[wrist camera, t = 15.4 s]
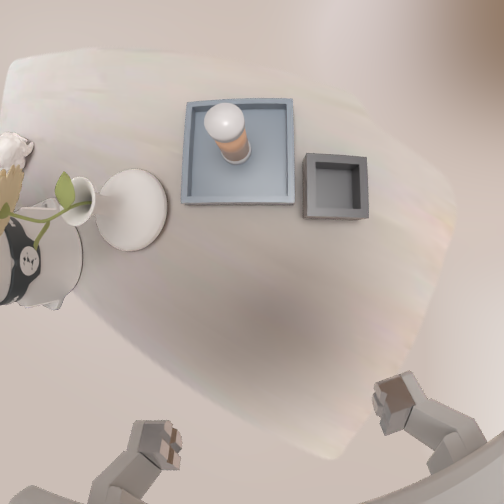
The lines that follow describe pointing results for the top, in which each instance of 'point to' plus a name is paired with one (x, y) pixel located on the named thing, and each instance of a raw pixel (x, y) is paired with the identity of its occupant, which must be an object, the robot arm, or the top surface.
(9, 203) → the flower in vase
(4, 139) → the white lumpy oval piece
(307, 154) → the socket block
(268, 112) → the parts tray
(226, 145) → the tan bottle
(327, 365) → the top surface
